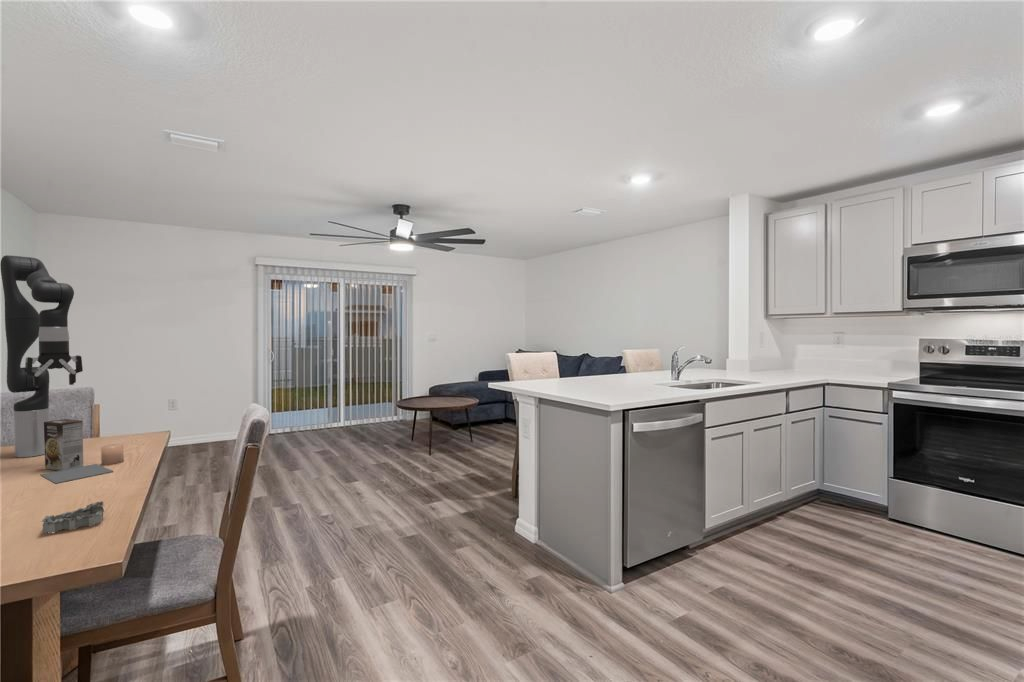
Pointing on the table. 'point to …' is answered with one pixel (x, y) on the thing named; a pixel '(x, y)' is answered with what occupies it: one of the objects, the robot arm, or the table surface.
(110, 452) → the beige short cylinder
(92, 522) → the ruined stone wall
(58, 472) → the mat
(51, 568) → the table surface
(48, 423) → the coffee box
